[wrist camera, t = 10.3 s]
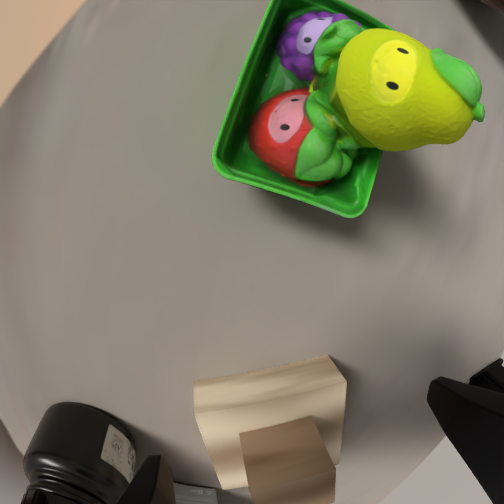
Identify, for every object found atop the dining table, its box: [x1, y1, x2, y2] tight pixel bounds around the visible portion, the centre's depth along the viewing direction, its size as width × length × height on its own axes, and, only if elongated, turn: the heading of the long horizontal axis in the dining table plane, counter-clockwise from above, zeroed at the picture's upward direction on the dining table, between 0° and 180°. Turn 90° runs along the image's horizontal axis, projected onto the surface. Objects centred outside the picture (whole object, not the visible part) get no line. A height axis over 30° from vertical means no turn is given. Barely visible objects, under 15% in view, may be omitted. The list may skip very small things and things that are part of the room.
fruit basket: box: [212, 0, 485, 218], centre depth 12 cm, size 11×9×11 cm
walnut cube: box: [239, 416, 336, 504], centre depth 16 cm, size 5×5×5 cm
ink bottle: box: [21, 402, 136, 504], centre depth 15 cm, size 10×9×12 cm
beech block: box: [194, 355, 347, 490], centre depth 21 cm, size 10×10×4 cm
